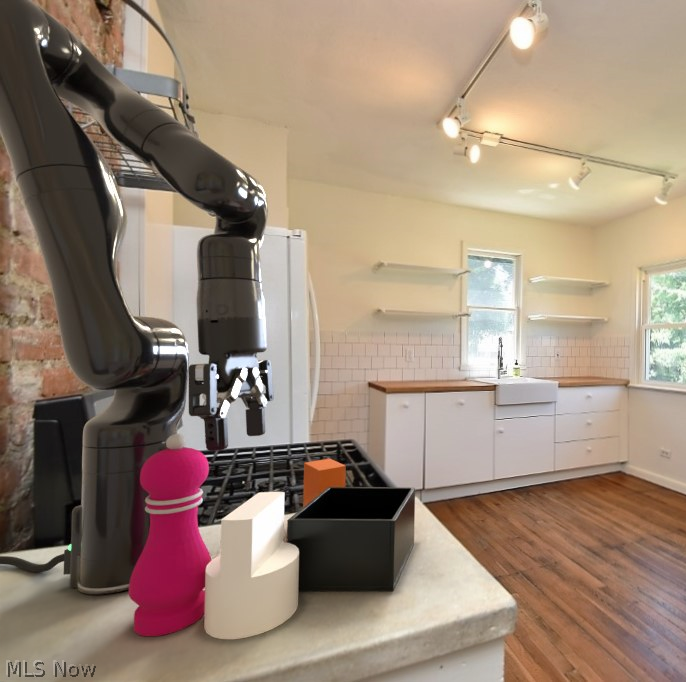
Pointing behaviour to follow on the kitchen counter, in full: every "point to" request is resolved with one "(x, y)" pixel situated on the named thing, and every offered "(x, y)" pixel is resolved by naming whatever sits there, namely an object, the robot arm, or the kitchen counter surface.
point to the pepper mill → (171, 542)
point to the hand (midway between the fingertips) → (238, 442)
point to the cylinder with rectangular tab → (252, 571)
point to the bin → (353, 538)
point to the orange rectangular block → (322, 477)
